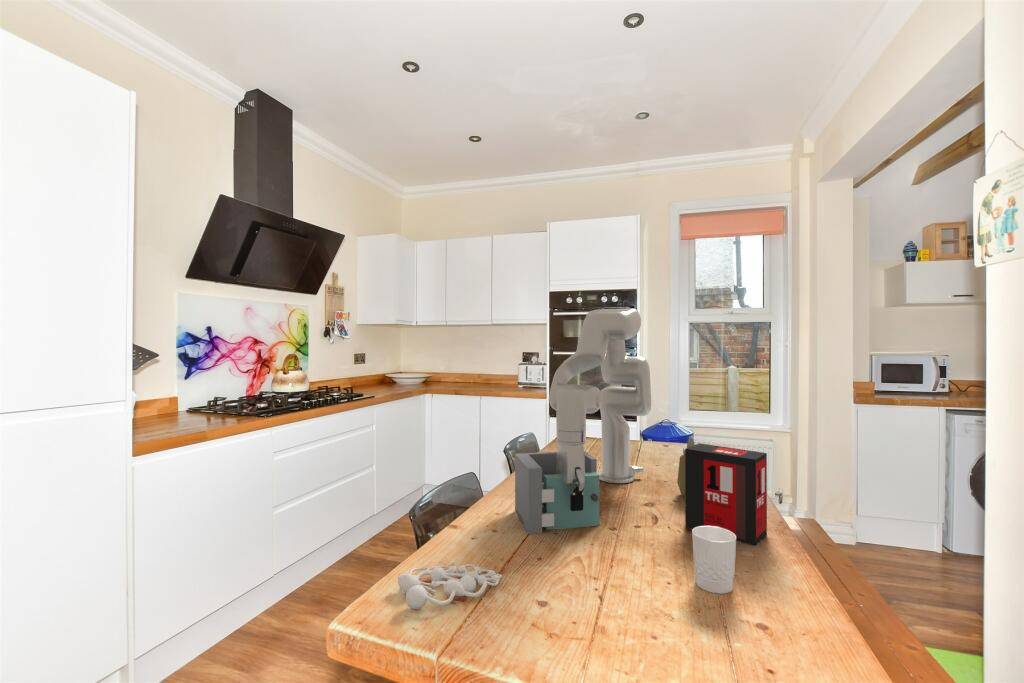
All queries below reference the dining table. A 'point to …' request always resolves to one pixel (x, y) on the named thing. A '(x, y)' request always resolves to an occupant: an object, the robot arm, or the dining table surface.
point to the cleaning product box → (727, 490)
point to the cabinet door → (562, 502)
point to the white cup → (714, 558)
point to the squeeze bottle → (683, 468)
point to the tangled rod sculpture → (445, 583)
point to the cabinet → (538, 487)
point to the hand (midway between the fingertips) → (571, 504)
